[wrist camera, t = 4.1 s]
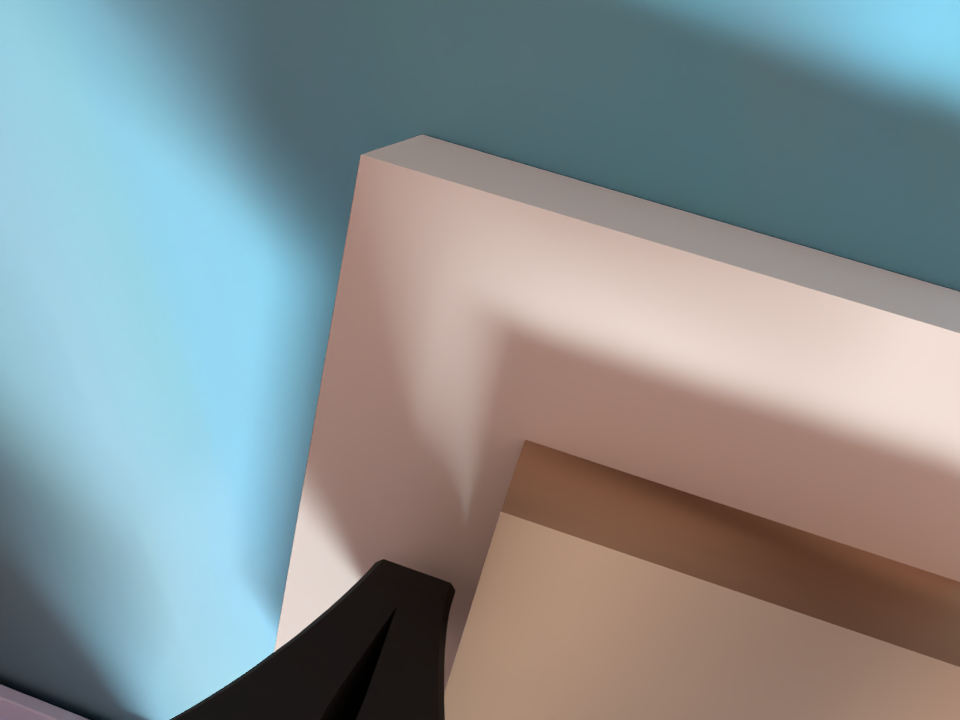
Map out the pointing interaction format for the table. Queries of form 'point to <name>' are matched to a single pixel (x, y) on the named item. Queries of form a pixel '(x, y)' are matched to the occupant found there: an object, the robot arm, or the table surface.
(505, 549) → the walnut tile
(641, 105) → the table surface
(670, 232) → the pale pink flat block
